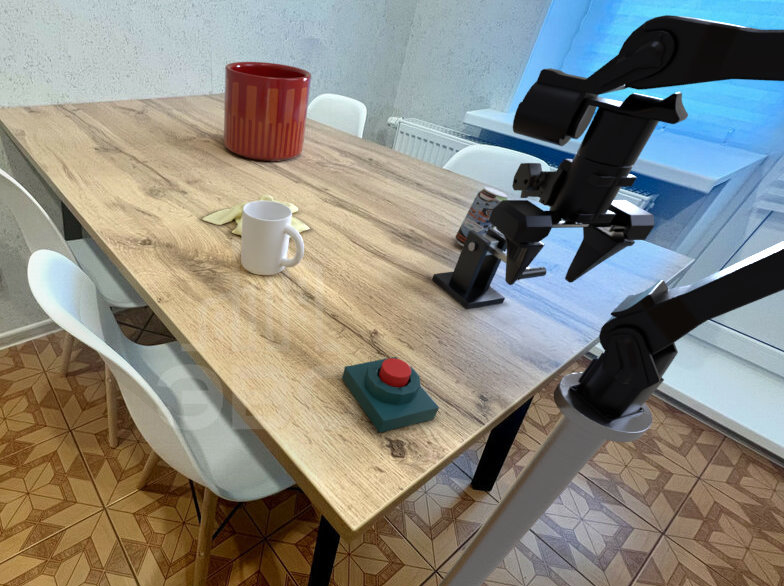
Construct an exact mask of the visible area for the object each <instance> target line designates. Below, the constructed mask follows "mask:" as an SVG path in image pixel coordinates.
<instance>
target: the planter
mask: <svg viewBox="0 0 784 586" xmlns="http://www.w3.org/2000/svg"><path fill="white" fill-rule="evenodd" d="M311 82H312V73H310V72H309V71H308V70H306V69H303V68H300V67H296V66H291V65H288V64H281V63H275V62H274V63H273V62H265V61H264V62H263V61H235V62H229V63H228V64H226V65H225V67H224V104H223V105H224V106H223V109H224V110H223V112H224V113H223V143H224V146H225V148H226V149H227V150H228V151H230V152H231V153H233V154H235V155H236V156H239V157H242V158H244V159H249V160H253V161H261V162H283V161H288V160H291V159H294V158H296V157H299V156H300V155H301V154H302V152H303V150H304V142H305V135H306V126H307V119H308V110H309V100H310V94H311V93H310V92H311V85H312V84H311Z"/></svg>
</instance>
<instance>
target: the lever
mask: <svg viewBox="0 0 784 586" xmlns="http://www.w3.org/2000/svg"><path fill="white" fill-rule="evenodd" d="M482 236H483V237H485V238H486V239H488V240H489V241H491V244H490V247H489V249H488V251H487V254H486V255H494V256H495V257H497V258H498V259H500V260H501V262H503V263H504V264H506V259H507V251H505V252H504V251H503V250H501V249H499V248H498V247H497V245H498V243H499V241H498V240H496V239H494V238H493V237H491V236H489V235H482ZM546 274H547V268H546V267H545V266H537V267H530V266H528V267H527V268H526V270H525V271H524V272H523V274H522V275H521V276H520V277H519V279H518V280H517V281H520V280H526V279H534V278H541V277H545V275H546Z"/></svg>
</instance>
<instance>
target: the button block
mask: <svg viewBox="0 0 784 586" xmlns="http://www.w3.org/2000/svg"><path fill="white" fill-rule="evenodd" d="M390 358H395V359H398V357H397V356H392V357H387V358H382V359H377V360H372V361H371V360H370V361H367V362H362V363H356V364H351V365H346V366H344V368H343V372H342V377H341V380H342V381H343V383H344V384H345V385H346V387H347V388H348V390H349V391H350V392H351V394H352V396H353V397H354V398H355V401H356V402H357V403H358V405H359V406H360V407H361V410H363V412H364V413H365V414H366V416H367V417H368V419H369V421H370V422H371V423H372V424H373V426H374V427H375V429H376V430H377V432H378V433H379V434H381V433H384V432H389V431H393V430H396V429H397V430H398V429H400V428H404V427H409V426H412V425H415V424H416V425H417V424H420V423H425V422H429V421H432V420H435V417H436V415H437V413H438V411H439V409H440V406H439V405H438V404H437V403H436V402H435V400H433V398H432V397H431V396H430V395H429V393H428V392H427V391H426V390H425V389H424V387H422V385H421V377H420V375H419V374H418V372H417V371H416V370H415V369H414V368H413V367H412V366H411V365H409V366H410V368H411V374H410V377H409V380H408V382H407V384H406V385H405V386H403V387H400V388H398V387H392V386H389V385H387V384H385V383H383V382H382V381H381V380H380V378H379V373H380V369H381V366H382V363H383V362H384V361H385V360H386V359H390Z"/></svg>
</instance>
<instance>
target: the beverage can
mask: <svg viewBox="0 0 784 586" xmlns="http://www.w3.org/2000/svg"><path fill="white" fill-rule="evenodd" d="M508 198H509V195H508V193H506V192H504V191H503V190H500V189H498V188H495V187H492V186H484V187H483V189H481V190H479V191H478V192H477V193H476V196H475V198H474V200H473V201H472V204H470V207H469V209H468V211H467V213H466V215H465V217H464V218H463V221H462V223H461V225H460V227H459V229H458V231H457V233H456V234H455V240H456V243H457V244H458V245H460V246H461V247H463V246H464V243H465V240H466V238H467V235H468V233H469V231H470V230H474V231H476V232H477V233H479V234H480V235H486V233H487V231H488V229H491V228H493V229H495V228H496V227H495V226H494V225H492V224H491V223H490V222H489V221H488V220H489V218H490V216H491V213H492V211H493V208H494V207H495V205H496V204H497V203H499V202H501V201H502V200H509V199H508Z"/></svg>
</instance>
